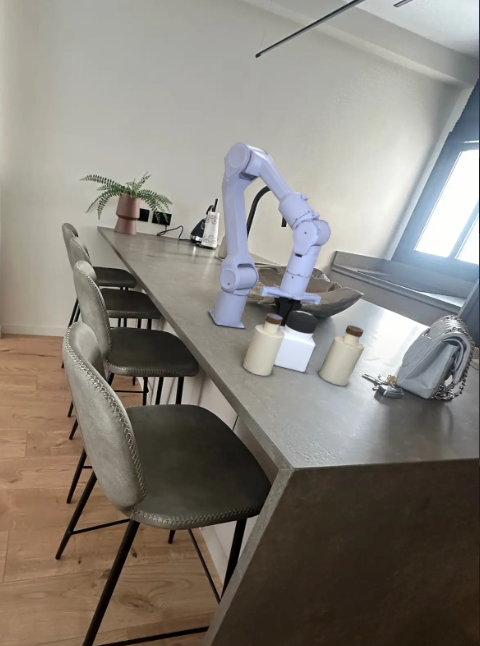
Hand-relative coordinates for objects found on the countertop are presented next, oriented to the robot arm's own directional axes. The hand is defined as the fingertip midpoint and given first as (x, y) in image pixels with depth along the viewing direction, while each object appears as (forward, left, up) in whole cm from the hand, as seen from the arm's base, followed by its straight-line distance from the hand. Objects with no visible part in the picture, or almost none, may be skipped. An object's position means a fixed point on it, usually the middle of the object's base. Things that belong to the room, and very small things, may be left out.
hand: (278, 326), depth 91 cm
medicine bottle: (+9, 0, -5) cm, 10 cm away
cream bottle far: (+14, +9, -5) cm, 17 cm away
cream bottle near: (+14, -9, -5) cm, 17 cm away
